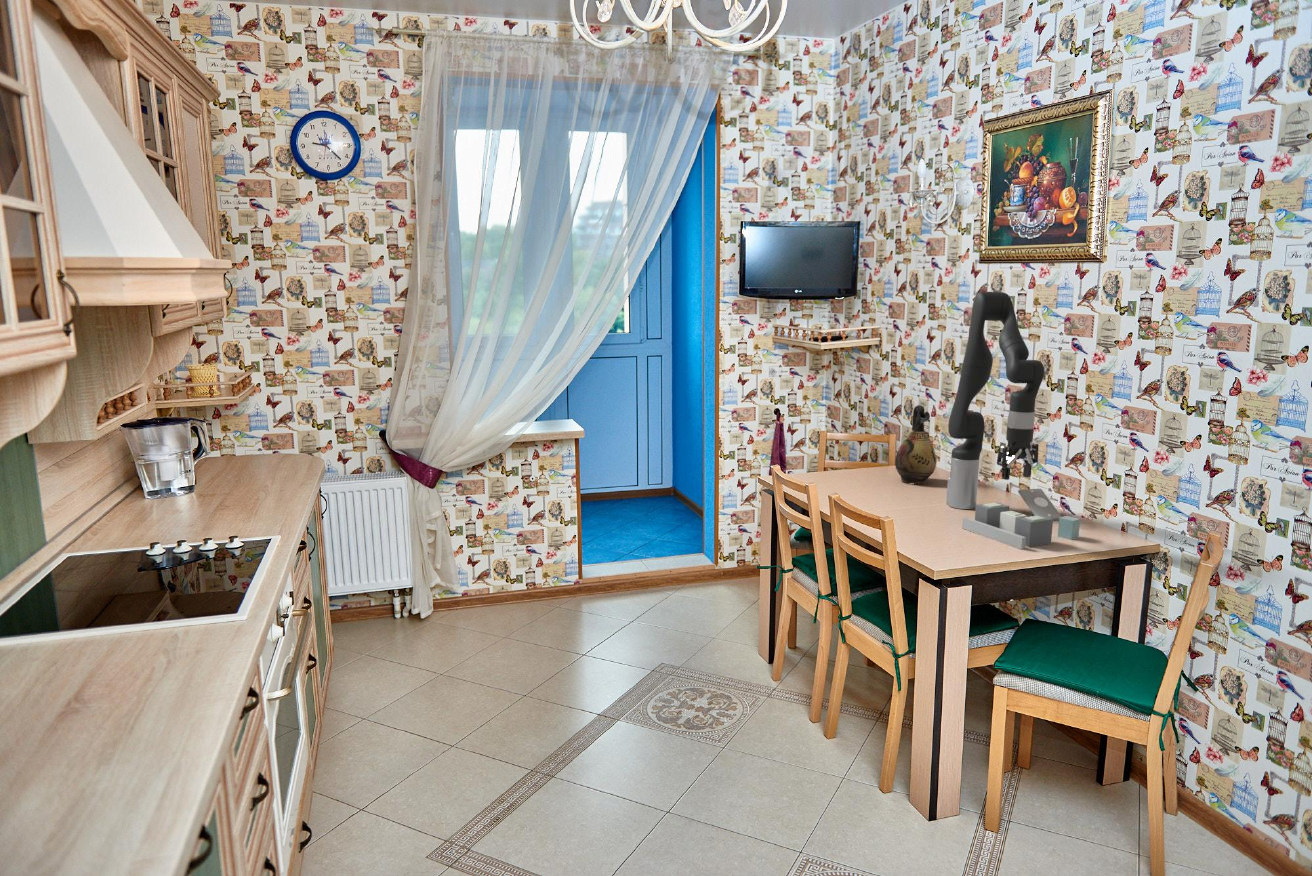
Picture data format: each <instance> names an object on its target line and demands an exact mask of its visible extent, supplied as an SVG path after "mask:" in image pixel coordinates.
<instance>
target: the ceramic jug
mask: <svg viewBox="0 0 1312 876" xmlns="http://www.w3.org/2000/svg"><path fill="white" fill-rule="evenodd" d="M930 416H931V415H930V413H929V411H925V407H924V406H923V405H921V404H917V405H915V406H914V409H913V412H912V423H911V425H912V426H911V432H910V433H909V434H908V435H907V436H906V437H905V439H904V440H903V441H902V442H901V444H900V446H899V448H898V449H897V453H896V455H895V460H894V465H895V469H896V472H897V473H898V475H899V476H900V481H901V482H902V483H904V484H909V483H914V484H913V485H921V484H920V483H924V484H926V482H927V480H928V479H929V478H930V477H931V476H932V475H933V474H934V472H935V470H936V467H937V466H936V465H937V457H936V456H937V455H936V452H935V448H934V445H933V444H932V441H931V439H930V438H929V436H928V434H927V432H926V430H925V422H927V421H929V420H930Z"/></svg>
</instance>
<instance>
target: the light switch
mask: <svg viewBox="0 0 1312 876" xmlns="http://www.w3.org/2000/svg"><path fill="white" fill-rule="evenodd" d="M1017 493H1018V494H1019V496H1020V497H1021V499H1022V500H1023V501H1024V503H1025V504H1026V506H1027V507H1028V509H1029V510H1030V511H1031V513H1032V514H1033V516H1038V515H1041V516H1044V517H1047V518H1051V519H1053V521H1059V518H1060V517H1063V516H1062V514H1061V513H1060V512H1059V511H1058V509H1057V508H1056V507H1055V506H1054V504H1053V503H1052V501H1051V500H1050V499H1049V497H1048V496H1047V494H1046V493H1045V492H1044V491H1043V489H1042V488H1030V489H1029V488H1028V489H1027V488H1026V489H1025V488H1024V489H1021V488H1020V489H1018V491H1017Z"/></svg>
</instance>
